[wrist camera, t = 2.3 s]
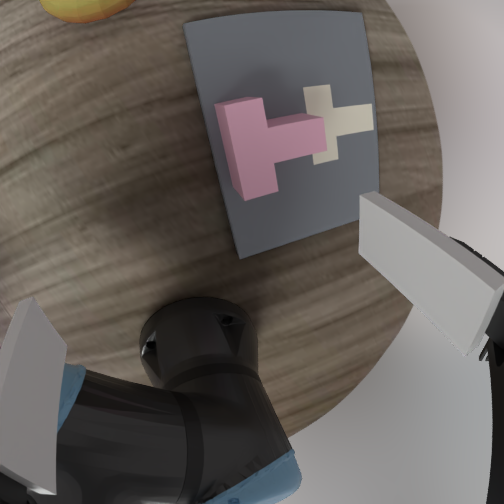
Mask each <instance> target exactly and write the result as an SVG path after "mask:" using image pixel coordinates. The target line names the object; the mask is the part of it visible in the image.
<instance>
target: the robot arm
mask: <svg viewBox="0 0 504 504" xmlns="http://www.w3.org/2000/svg"><path fill="white" fill-rule="evenodd" d="M359 254H360V255H361V256H362V257H363V258H364V259H366V260H367V261H368V262H369V263H370V264H371V265H372V266H373V267H374V268H375V269H377V270H378V271H379V272H380V273H381V274H382V275H383V276H384V277H385V278H386V279H387V280H388V281H389V282H391V283H392V284H393V285H394V286H395V287H396V288H397V289H398V290H399V291H400V292H401V293H402V294H403V295H404V296H405V297H406V298H407V299H408V300H409V301H410V302H411V303H412V304H414V305H415V306H416V307H417V308H418V309H419V310H420V311H421V312H422V313H423V314H424V315H425V316H426V317H427V318H428V319H429V320H430V321H431V322H432V323H433V324H434V325H435V326H436V327H437V328H438V329H439V330H440V331H441V333H443V335H444V336H445V337H446V338H447V339H448V340H449V341H450V342H451V343H452V344H453V345H454V346H455V347H456V348H457V349H458V350H459V351H460V352H461V354H462V355H463V356H464V357H465V356H466V355H468V354H469V353H470V352H471V351H473V350H474V349H475V348H476V347H477V346H479V344H480V342H481V340H482V338H483V336H484V334H485V333H486V334H487V335H488V336H489V339H488V341H487V343H486V345H485V347H484V348H483V350H482V352H481V354H480V356H479V361H482V359H483V358H484V356H485V354H486V353H487V351H488V356H487V357H486V361H489V367H490V377H491V390H492V414H493V415H492V416H493V417H492V418H493V432H492V456H491V469H490V479H489V487H488V494H487V501H486V504H504V272H503V271H502V270H501V269H500V268H498V267H497V266H496V265H494V264H493V263H492V262H490V261H489V260H487V259H486V258H485V257H482V255H481V254H479V253H478V252H477V251H474V250H473V249H472V248H471V247H469V246H468V245H467V244H465V243H464V242H462V241H459V240H457V239H454V238H452V237H448V236H447V235H445V234H444V233H442V232H441V231H439V230H438V229H436V228H435V227H433V226H432V225H430V224H429V223H427V222H426V221H424V220H422V219H421V218H419V217H418V216H416V215H414V214H413V213H411V212H409V211H408V210H406V209H405V208H403V207H401V206H400V205H398V204H396V203H394V202H393V201H391V200H389V199H388V198H386V197H384V196H382V195H381V194H379V193H377V192H375V191H373V192H369V193H365V194H361V195H360V219H359ZM66 352H67V345H66V343H65V342H64V341H63V339H62V338H61V336H60V335H59V334H58V332H57V331H56V330H55V328H54V327H53V325H52V324H51V323H50V321H49V320H48V318H47V317H46V315H45V314H44V312H43V311H42V309H41V308H40V306H39V305H38V303H37V302H36V300H35V298H34V297H30V298H27V299H24V300H22V301H19V304H18V306H17V308H16V311H15V313H14V315H13V318H12V320H11V323H10V325H9V328H8V330H7V333H6V336H5V338H4V341H3V344H2V347H1V349H0V504H275V503H277V502H279V501H281V500H283V499H285V498H287V497H288V496H290V495H291V494H293V493H294V492H295V491H296V490H297V489H298V488H299V486H300V484H301V480H302V476H301V472H300V469H299V467H298V464H297V461H296V459H295V456H294V454H295V451H294V450H293V449H292V447H291V445H290V443H289V440H288V438H287V436H286V434H285V432H284V430H283V428H282V426H281V424H280V421H279V419H278V417H277V415H276V413H275V411H274V409H273V406H272V404H271V402H270V400H269V398H268V395H267V393H266V391H265V389H264V387H263V385H262V382H261V380H260V378H259V375H258V339H257V334H256V331H255V329H254V327H253V325H252V322H251V320H250V318H249V317H248V315H247V314H246V313H245V312H244V311H243V310H242V309H241V308H240V307H238V306H237V305H235V304H233V303H231V302H228V301H225V300H222V299H217V298H209V297H199V298H190V299H185V300H181V301H178V302H175V303H172V304H170V305H168V306H166V307H164V308H162V309H161V310H159V311H158V312H157V313H155V314H154V315H153V316H152V317H151V318H150V319H149V320H148V321H147V323H146V324H145V326H144V327H143V329H142V332H141V335H140V358H141V362H142V365H143V367H144V369H145V371H146V373H147V375H148V377H149V379H150V381H151V383H152V385H153V386H154V387H151V386H146V385H142V384H138V383H133V382H129V381H125V380H122V379H118V378H114V377H111V376H107V375H104V374H100V373H97V372H93V371H90V370H87V369H86V368H85V367H84V366H82V365H76V366H74V365H71V364H67V363H65V358H66Z"/></svg>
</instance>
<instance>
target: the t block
mask: <svg viewBox="0 0 504 504" xmlns="http://www.w3.org/2000/svg"><path fill="white" fill-rule="evenodd" d="M214 106H215V110H216V115H217V119H218V123H219V128H220V132H221V137H222V141H223V145H224V150H225V154H226V159H227V163H228V167H229V172H230V176H231V180H232V185H233V187H234V189H235V190H236V191H237V192H238V193H239V195H240V196H241V197H242V198H243V199H244V201H247V200H250V199H253V198H257V197H260V196H264V195H267V194H271V193H274V192H277V191H278V185H277V178H276V172H275V166H274V163H277V162H281V161H285V160H289V159H293V158H298V157H302V156H306V155H310V154H315V153H319V152H324V151H327V144H326V135H325V127H324V119H323V117H319V116H314V115H310V114H305V113H299V114H294V115H288V116H283V117H278V118H273V119H268V120H266V115H265V110H264V105H263V99H262V98H260V97H244V98H239V99H234V100H230V101H225V102H221V103H217V104H214Z"/></svg>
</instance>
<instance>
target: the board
mask: <svg viewBox="0 0 504 504" xmlns="http://www.w3.org/2000/svg"><path fill="white" fill-rule="evenodd" d="M183 31H184V35H185V40H186V44H187V48H188V53H189V57H190V62H191V66H192V70H193V75H194V79H195V83H196V88H197V92H198V96H199V100H200V105H201V109H202V113H203V117H204V122H205V126H206V130H207V134H208V138H209V143H210V147H211V151H212V155H213V159H214V163H215V167H216V171H217V175H218V180H219V184H220V188H221V192H222V196H223V200H224V204H225V208H226V212H227V216H228V220H229V224H230V228H231V232H232V236H233V240H234V244H235V247H236V251H237V255H238V256H239V258H240V259H243V258H246V257H249V256H252V255H255V254H258V253H261V252H264V251H267V250H270V249H273V248H276V247H279V246H282V245H285V244H288V243H290V242H293V241H296V240H299V239H302V238H305V237H308V236H311V235H314V234H317V233H320V232H323V231H326V230H329V229H332V228H335V227H338V226H341V225H344V224H347V223H350V222H353V221H356V220H359V219H360V195H361V194H365V193H369V192H373V191H375V192H377V193H379V158H378V136H377V120H376V108H375V97H374V88H373V79H372V71H371V64H370V57H369V50H368V44H367V38H366V32H365V27H364V21H363V16H362V13H358V12H345V11H324V10H290V11H269V12H256V13H246V14H237V15H229V16H222V17H216V18H210V19H204V20H198V21H193V22H188V23H184V24H183ZM244 97H260V98H262V99H263V105H264V110H265V115H266V120H268V119H273V118H278V117H283V116H288V115H294V114H299V113H305V114H310V115H314V116H319V117H323V119H324V127H325V135H326V144H327V151H324V152H319V153H315V154H310V155H306V156H302V157H298V158H293V159H289V160H285V161H281V162H277V163H274V166H275V172H276V178H277V185H278V191H277V192H274V193H271V194H267V195H264V196H260V197H257V198H253V199H250V200H247V201H244V199H243V198H242V197H241V196H240V195H239V193H238V192H237V191H236V190H235V189H234V187H233V185H232V180H231V176H230V172H229V167H228V163H227V159H226V154H225V150H224V145H223V141H222V137H221V132H220V128H219V123H218V119H217V115H216V110H215V106H214V104H217V103H221V102H225V101H230V100H234V99H239V98H244Z"/></svg>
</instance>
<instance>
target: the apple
mask: <svg viewBox="0 0 504 504" xmlns="http://www.w3.org/2000/svg"><path fill="white" fill-rule="evenodd" d="M39 1H40V3H41V4H42V6H43V8H44V9H45V10H46V11H47V12H48V13H49V14H51V15H53V16H55V17H57V18H59V19H61V20H63V21H65V22H73V23H89V22H93V21H97V20H101V19H105V18H108V17H110V16H112V15H114V14H115V13H117V12H119V11H121V10H123V9H125V8H127V7H128V6H130V5H131V4H132V3H133V2H134V1H135V0H39Z"/></svg>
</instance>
